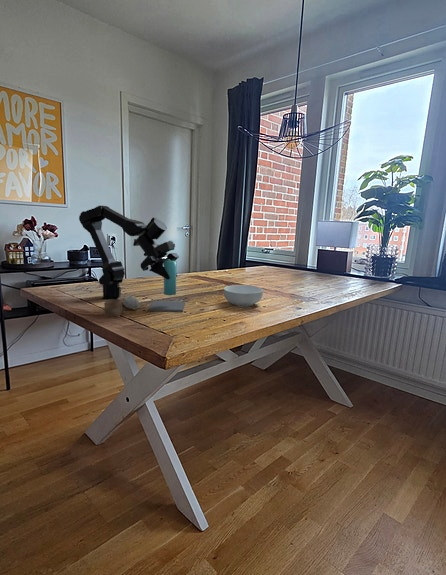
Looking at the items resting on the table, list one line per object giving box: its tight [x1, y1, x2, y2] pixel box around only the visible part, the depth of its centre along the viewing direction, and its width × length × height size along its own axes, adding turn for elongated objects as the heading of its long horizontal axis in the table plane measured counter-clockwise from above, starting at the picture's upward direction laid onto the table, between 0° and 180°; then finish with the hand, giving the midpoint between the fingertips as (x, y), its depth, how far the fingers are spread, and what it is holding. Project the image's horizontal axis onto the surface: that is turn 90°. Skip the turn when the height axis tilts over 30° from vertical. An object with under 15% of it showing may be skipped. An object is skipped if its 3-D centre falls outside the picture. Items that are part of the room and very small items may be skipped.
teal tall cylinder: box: [163, 260, 178, 296], centre depth 129 cm, size 5×5×13 cm
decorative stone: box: [122, 294, 141, 311], centre depth 132 cm, size 6×16×3 cm, turn 28°
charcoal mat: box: [147, 300, 186, 313], centre depth 132 cm, size 13×13×1 cm
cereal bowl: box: [223, 284, 264, 308], centre depth 141 cm, size 17×17×7 cm
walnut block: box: [103, 299, 124, 317], centre depth 119 cm, size 5×5×5 cm
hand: (172, 277), depth 128 cm, fingers closed on teal tall cylinder, 5 cm apart
